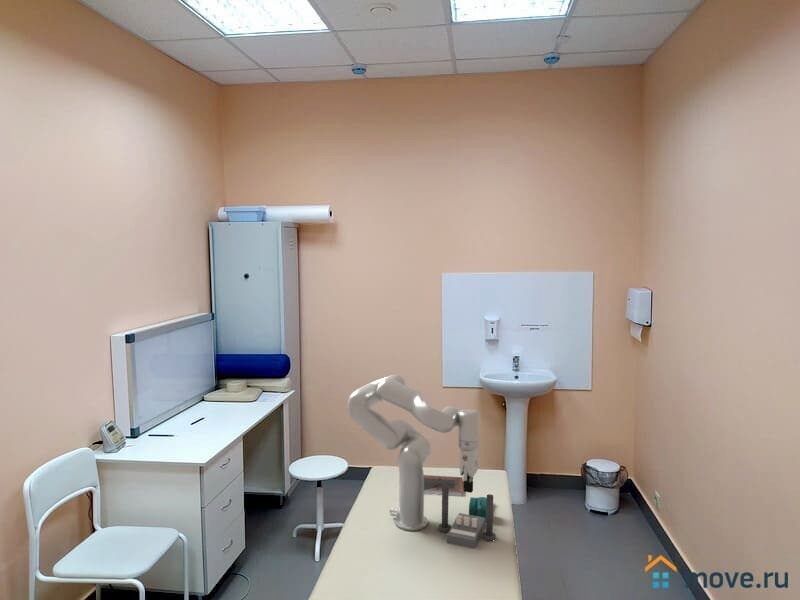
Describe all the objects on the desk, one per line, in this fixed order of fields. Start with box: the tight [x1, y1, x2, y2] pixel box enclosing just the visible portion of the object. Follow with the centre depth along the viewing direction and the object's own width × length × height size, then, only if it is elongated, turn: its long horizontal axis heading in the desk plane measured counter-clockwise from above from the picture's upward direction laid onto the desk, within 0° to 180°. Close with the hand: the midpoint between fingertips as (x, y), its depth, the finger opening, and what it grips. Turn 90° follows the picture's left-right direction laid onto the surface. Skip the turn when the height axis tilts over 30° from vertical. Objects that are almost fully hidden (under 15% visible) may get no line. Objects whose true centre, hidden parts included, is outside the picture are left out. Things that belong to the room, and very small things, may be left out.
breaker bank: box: [455, 514, 478, 528], centre depth 209 cm, size 8×1×3 cm, turn 69°
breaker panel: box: [446, 512, 486, 549], centre depth 209 cm, size 10×18×3 cm, turn 159°
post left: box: [437, 487, 452, 534], centre depth 211 cm, size 5×5×16 cm
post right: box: [481, 493, 497, 542], centre depth 205 cm, size 5×5×16 cm
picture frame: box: [424, 474, 464, 497], centre depth 250 cm, size 16×2×22 cm
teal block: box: [468, 496, 487, 524], centre depth 227 cm, size 18×7×8 cm, turn 163°
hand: (468, 491), depth 208 cm, fingers closed
